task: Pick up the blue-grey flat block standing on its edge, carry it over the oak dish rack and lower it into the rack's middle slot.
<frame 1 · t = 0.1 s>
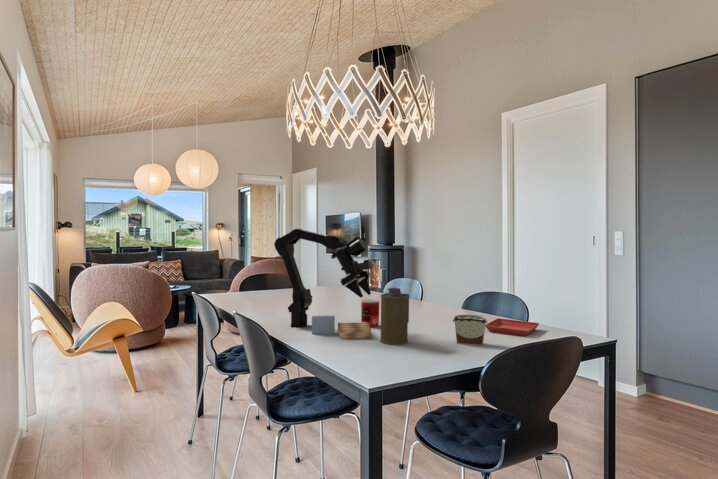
hand: (365, 295, 192), 15 cm above the table, tool tilted 30°, fingers open, 9 cm apart
plant saucer: (512, 332, 198), on the table
food container: (470, 343, 176), on the table
rack: (353, 334, 187), on the table
canister: (394, 342, 177), on the table
canned food: (370, 326, 206), on the table
blue-grey flat block: (323, 333, 190), on the table
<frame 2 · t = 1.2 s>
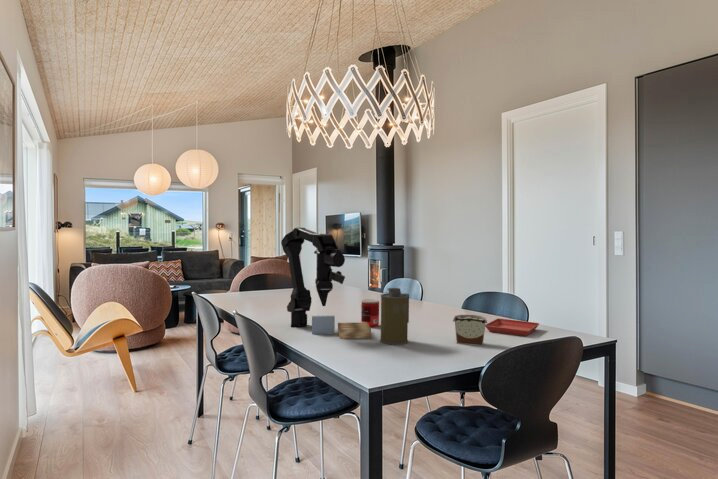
hand: (323, 304, 189), 12 cm above the table, tool pointing down, fingers open, 9 cm apart
nothing on the table moved.
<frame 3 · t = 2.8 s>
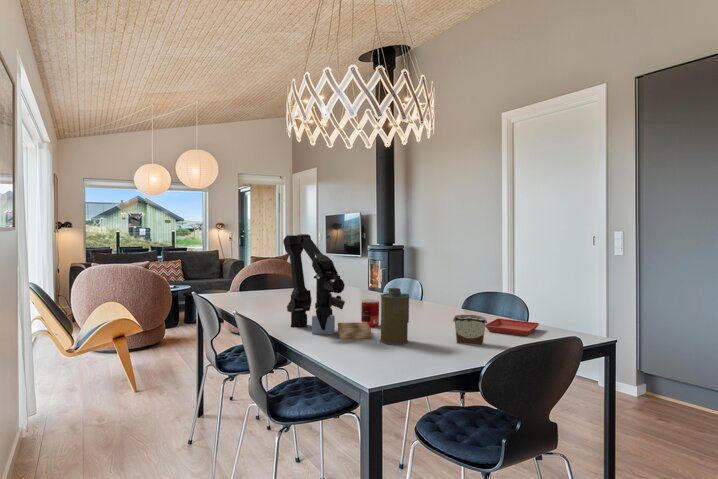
hand: (323, 329, 190), 2 cm above the table, tool pointing down, fingers closed on blue-grey flat block, 2 cm apart
blue-grey flat block: (323, 333, 190), on the table, touching gripper
everything else where it was.
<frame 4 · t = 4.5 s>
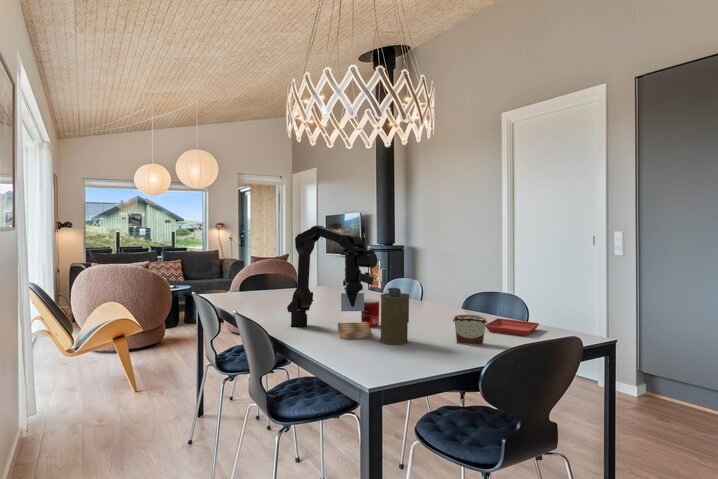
hand: (352, 306, 187), 11 cm above the table, tool pointing down, fingers closed on blue-grey flat block
blue-grey flat block: (352, 310, 187), point 10 cm above the table, touching gripper
everything else where it was.
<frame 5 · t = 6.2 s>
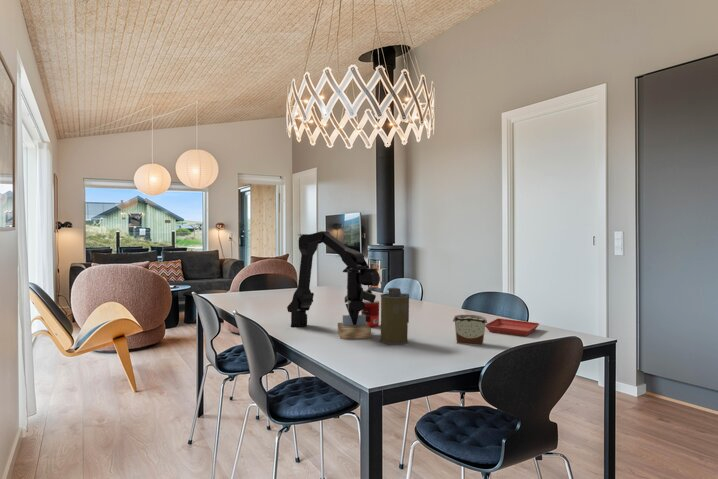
hand: (354, 323, 187), 4 cm above the table, tool pointing down, fingers open, 5 cm apart
blue-grey flat block: (353, 332, 187), point 1 cm above the table, touching rack
everything else where it was.
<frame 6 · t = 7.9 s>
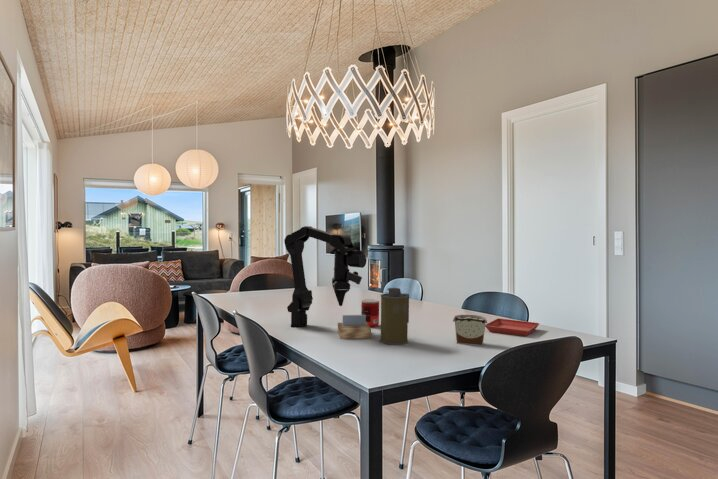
hand: (339, 303, 192), 11 cm above the table, tool pointing down, fingers open, 9 cm apart
nothing on the table moved.
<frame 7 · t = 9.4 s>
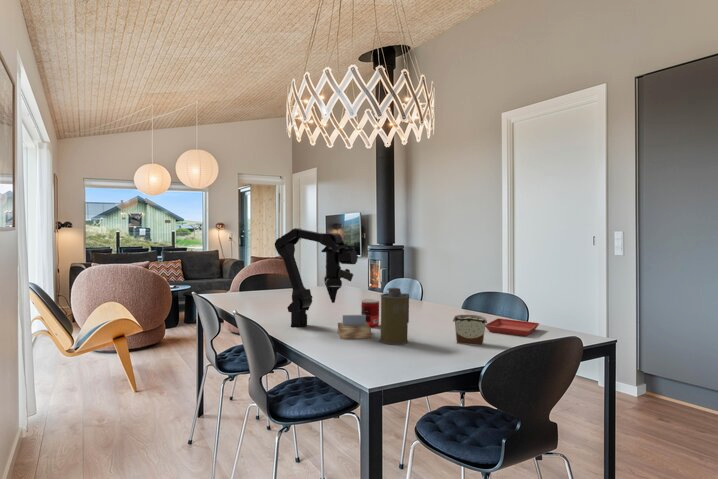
hand: (332, 301, 196), 12 cm above the table, tool pointing down, fingers open, 9 cm apart
nothing on the table moved.
at the end: blue-grey flat block 0.0 cm off-centre on the rack, point 0.8 cm above the rack's base; blue-grey flat block tilted 0°; the gripper is holding nothing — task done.
